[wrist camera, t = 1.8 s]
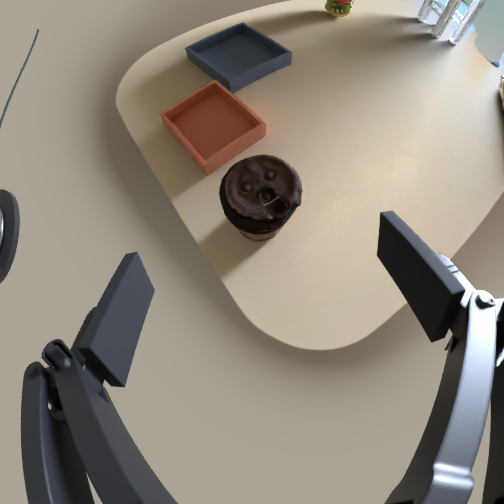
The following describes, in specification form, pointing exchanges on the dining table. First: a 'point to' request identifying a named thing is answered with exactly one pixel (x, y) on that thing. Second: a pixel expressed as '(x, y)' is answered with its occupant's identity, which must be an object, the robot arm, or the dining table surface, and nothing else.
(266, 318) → the dining table surface
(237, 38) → the slate tray
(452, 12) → the stool
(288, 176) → the labeled brown jar
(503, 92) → the decorative bottle
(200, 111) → the terracotta tray
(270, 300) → the dining table surface
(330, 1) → the hamburger
